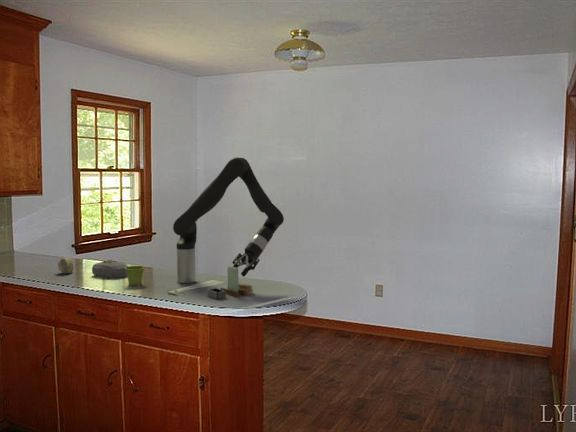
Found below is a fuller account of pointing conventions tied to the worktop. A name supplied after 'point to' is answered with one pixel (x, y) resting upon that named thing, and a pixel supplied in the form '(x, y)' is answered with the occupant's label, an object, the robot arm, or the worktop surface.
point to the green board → (233, 279)
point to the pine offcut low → (248, 292)
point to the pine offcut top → (244, 286)
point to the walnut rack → (235, 293)
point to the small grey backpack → (109, 269)
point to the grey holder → (216, 293)
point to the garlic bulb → (65, 265)
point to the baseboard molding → (196, 286)
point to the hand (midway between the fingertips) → (236, 274)
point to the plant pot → (135, 274)
